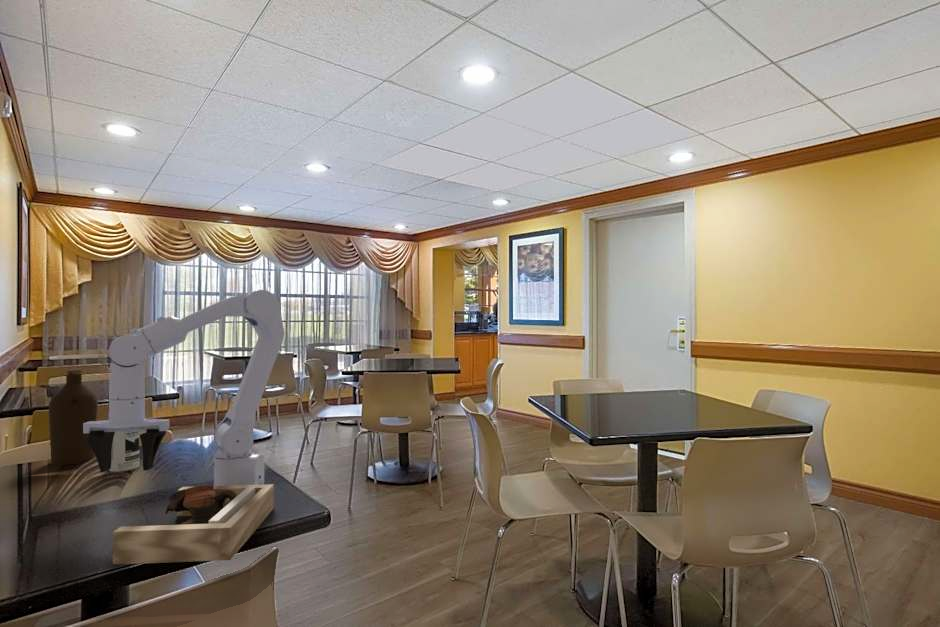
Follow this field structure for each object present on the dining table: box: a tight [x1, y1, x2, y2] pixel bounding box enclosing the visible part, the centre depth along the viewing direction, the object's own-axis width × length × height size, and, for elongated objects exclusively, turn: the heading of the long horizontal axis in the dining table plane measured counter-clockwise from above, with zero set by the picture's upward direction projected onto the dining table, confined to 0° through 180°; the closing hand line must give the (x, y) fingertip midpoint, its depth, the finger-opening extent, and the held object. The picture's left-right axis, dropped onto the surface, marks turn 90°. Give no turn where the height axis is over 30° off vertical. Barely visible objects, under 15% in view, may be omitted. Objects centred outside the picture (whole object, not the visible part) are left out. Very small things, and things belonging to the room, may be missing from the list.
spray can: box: [107, 402, 141, 473], centre depth 132 cm, size 7×7×20 cm
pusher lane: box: [112, 483, 275, 566], centre depth 90 cm, size 18×22×5 cm
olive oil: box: [48, 368, 99, 466], centre depth 140 cm, size 11×11×25 cm
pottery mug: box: [164, 484, 237, 525], centre depth 94 cm, size 12×9×8 cm
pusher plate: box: [209, 487, 255, 524], centre depth 91 cm, size 2×17×5 cm, turn 4°
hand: (126, 469), depth 98 cm, fingers open, 7 cm apart
